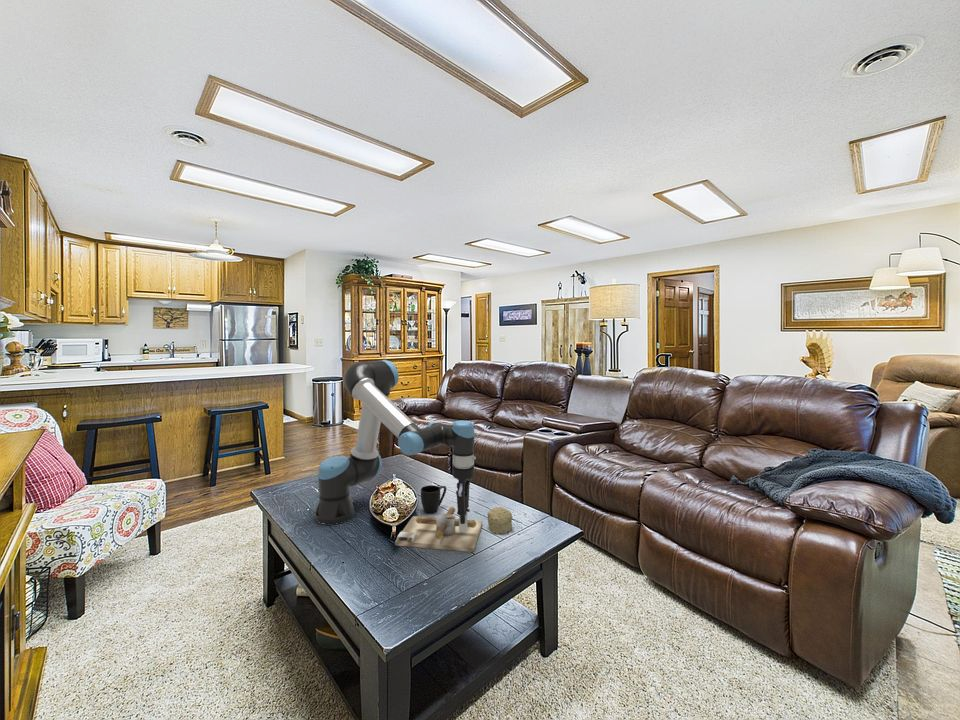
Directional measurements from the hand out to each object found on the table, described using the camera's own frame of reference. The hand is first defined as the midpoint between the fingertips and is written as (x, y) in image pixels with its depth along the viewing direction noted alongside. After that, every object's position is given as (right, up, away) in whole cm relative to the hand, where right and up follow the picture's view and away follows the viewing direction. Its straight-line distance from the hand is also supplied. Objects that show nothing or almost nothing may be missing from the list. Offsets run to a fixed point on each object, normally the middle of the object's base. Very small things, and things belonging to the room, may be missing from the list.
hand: (463, 530), depth 145 cm
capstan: (-7, -3, +6) cm, 9 cm away
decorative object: (+14, -4, +12) cm, 19 cm away
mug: (-13, -3, +29) cm, 32 cm away
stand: (-9, -4, +7) cm, 12 cm away
